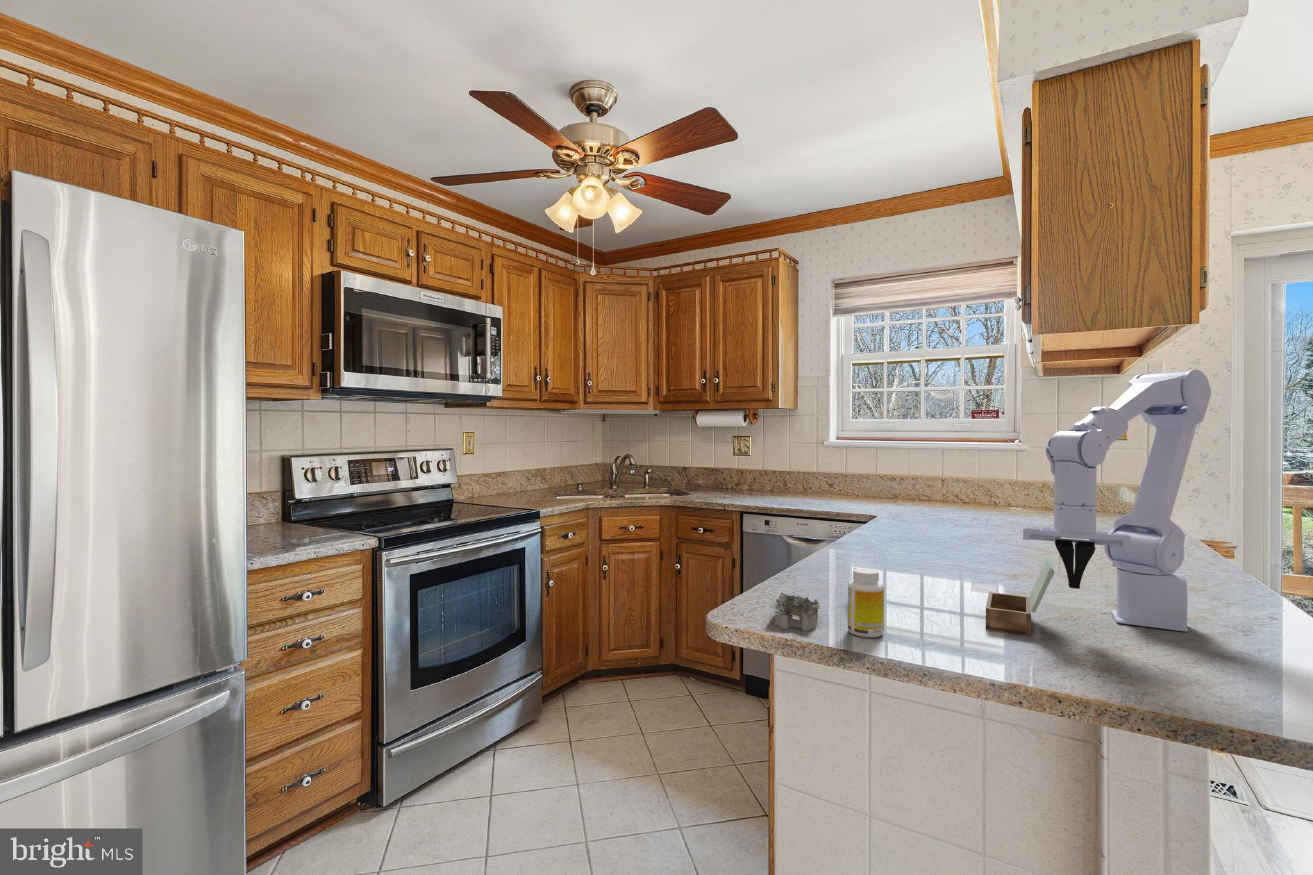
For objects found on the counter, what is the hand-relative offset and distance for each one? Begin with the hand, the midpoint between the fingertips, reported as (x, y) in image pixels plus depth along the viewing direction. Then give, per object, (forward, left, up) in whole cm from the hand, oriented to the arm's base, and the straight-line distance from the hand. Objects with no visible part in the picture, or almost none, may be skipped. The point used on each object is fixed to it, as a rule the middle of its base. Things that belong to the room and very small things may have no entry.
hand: (1074, 587), depth 102 cm
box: (+9, 0, -7) cm, 12 cm away
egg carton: (+41, +17, -8) cm, 45 cm away
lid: (+5, 0, 0) cm, 5 cm away
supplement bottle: (+29, +18, -8) cm, 35 cm away
